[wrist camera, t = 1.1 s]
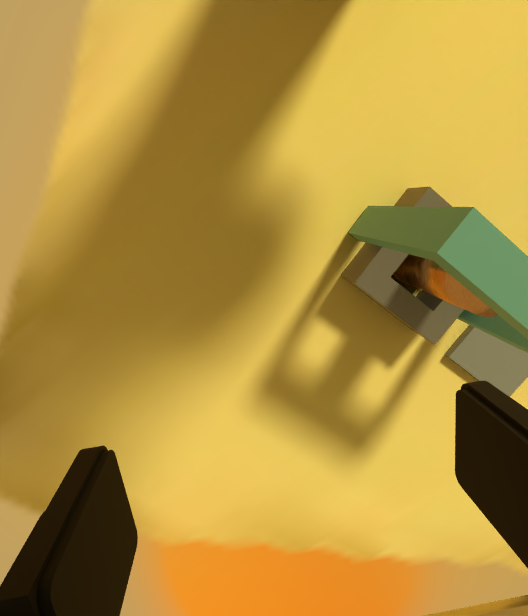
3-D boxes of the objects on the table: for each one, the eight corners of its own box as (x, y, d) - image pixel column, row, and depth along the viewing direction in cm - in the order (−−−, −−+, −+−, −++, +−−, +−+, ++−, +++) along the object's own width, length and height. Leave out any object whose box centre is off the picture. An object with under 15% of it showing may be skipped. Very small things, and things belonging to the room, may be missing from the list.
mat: (509, 278, 40) (515, 279, 39) (564, 326, 42) (571, 328, 41) (444, 354, 41) (448, 357, 40) (500, 397, 43) (505, 400, 42)
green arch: (368, 205, 36) (473, 207, 21) (472, 292, 39) (628, 348, 24) (348, 232, 36) (437, 252, 21) (452, 316, 40) (593, 385, 25)
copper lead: (409, 234, 37) (493, 247, 26) (438, 258, 38) (531, 282, 27) (383, 268, 38) (453, 295, 26) (412, 291, 39) (492, 327, 27)
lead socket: (407, 188, 36) (429, 186, 32) (480, 251, 39) (508, 257, 35) (340, 275, 38) (354, 283, 34) (414, 331, 40) (434, 344, 36)
